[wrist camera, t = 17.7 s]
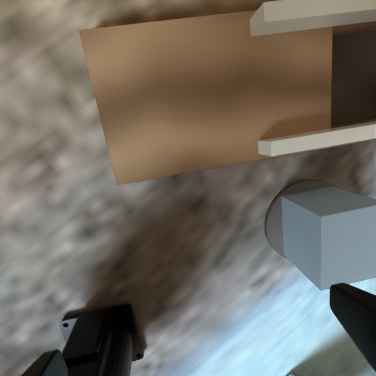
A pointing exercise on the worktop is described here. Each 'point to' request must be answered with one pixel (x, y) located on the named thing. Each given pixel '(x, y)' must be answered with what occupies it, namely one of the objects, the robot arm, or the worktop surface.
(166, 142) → the channel base plate
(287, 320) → the worktop surface
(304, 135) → the channel walls
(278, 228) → the coaster
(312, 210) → the block
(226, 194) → the worktop surface
